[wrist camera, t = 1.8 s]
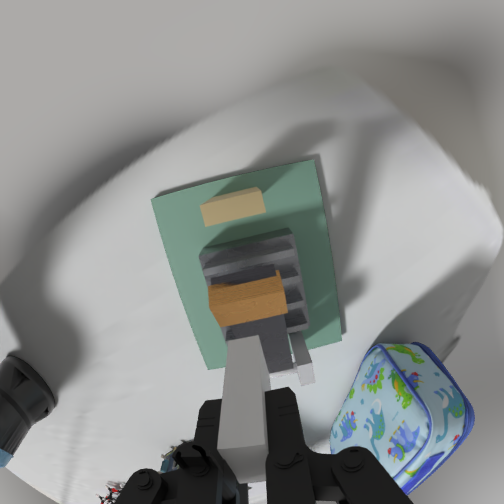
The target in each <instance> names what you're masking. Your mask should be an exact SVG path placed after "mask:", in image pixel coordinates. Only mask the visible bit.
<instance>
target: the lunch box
mask: <svg viewBox="0 0 504 504" xmlns="http://www.w3.org/2000/svg"><path fill="white" fill-rule="evenodd" d="M474 421H475V415H474V410H473V407H472V406H471V404H470V402H469V401H468V399H467V398H466V396H465V395H464V394H463V392H462V391H461V389H460V388H459V386H458V385H457V383H456V382H455V380H454V379H453V377H452V376H451V375H450V374H449V372H448V370H447V369H446V368H445V366H444V365H443V364H442V362H441V361H440V360H439V359H438V358H437V356H436V355H435V354H434V353H433V352H432V350H431V349H429V348H428V347H427V346H425V345H424V344H421V343H419V342H413V343H411V344H381V343H379V344H377V345H375V346H374V347H372V348H371V349H370V350H369V351H368V352H367V354H366V355H365V357H364V359H363V361H362V363H361V365H360V368H359V370H358V373H357V376H356V378H355V380H354V383H353V385H352V388H351V390H350V392H349V394H348V396H347V398H346V399H345V401H344V404H343V406H342V408H341V410H340V412H339V414H338V416H337V418H336V420H335V421H334V424H333V426H332V430H331V435H330V440H329V442H330V449H331V454H337V453H338V452H340V451H341V450H343V449H345V448H348V447H351V446H361V447H364V448H367V449H368V450H369V451H371V452H372V453H373V455H374V456H375V457H376V458H377V460H378V461H379V462H380V463H381V465H382V466H383V467H384V468H385V470H386V471H387V472H388V473H389V474H390V476H391V477H392V478H393V479H394V481H395V482H396V483H397V484H398V485H399V487H400V488H401V489H402V490H403V492H404V493H405V494H406V495H409V494H410V493H411V492H412V491H413V490H415V489H416V488H417V487H418V486H419V485H420V484H422V483H423V482H424V481H425V480H426V479H427V478H428V477H430V476H431V474H433V473H434V472H435V471H436V470H437V469H438V468H439V467H440V466H441V465H442V464H443V463H444V462H445V461H446V460H447V459H448V458H449V457H450V456H451V455H452V454H453V453H454V451H456V450H457V449H458V447H459V446H460V445H461V444H462V443H463V441H464V440H465V439H466V438H467V436H468V435H469V433H470V432H471V430H472V428H473V425H474Z"/></svg>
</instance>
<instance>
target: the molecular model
mask: <svg viewBox="0 0 504 504" xmlns="http://www.w3.org/2000/svg"><path fill="white" fill-rule="evenodd" d="M120 486H121V489H122V490H123V488H124V487H123V485H122V484H120ZM105 487H106V488H107V489H109V491H110V495H109V494H106V495H107V496H106V498H104V497H101V496H99V495H98V494H96V496H97V497H99V498H100V499H101V504H104V502H105V501H106V500H108V501H107V502H106V504H108V503H110V502H111V503H110V504H114V502H115V501H116V499H115V498H112V493H114V492H119V493H121V491H122V490H120V491H119V490H118V489H117V488H111V489H110V488H109V487H108V486H107V485H105Z"/></svg>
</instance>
